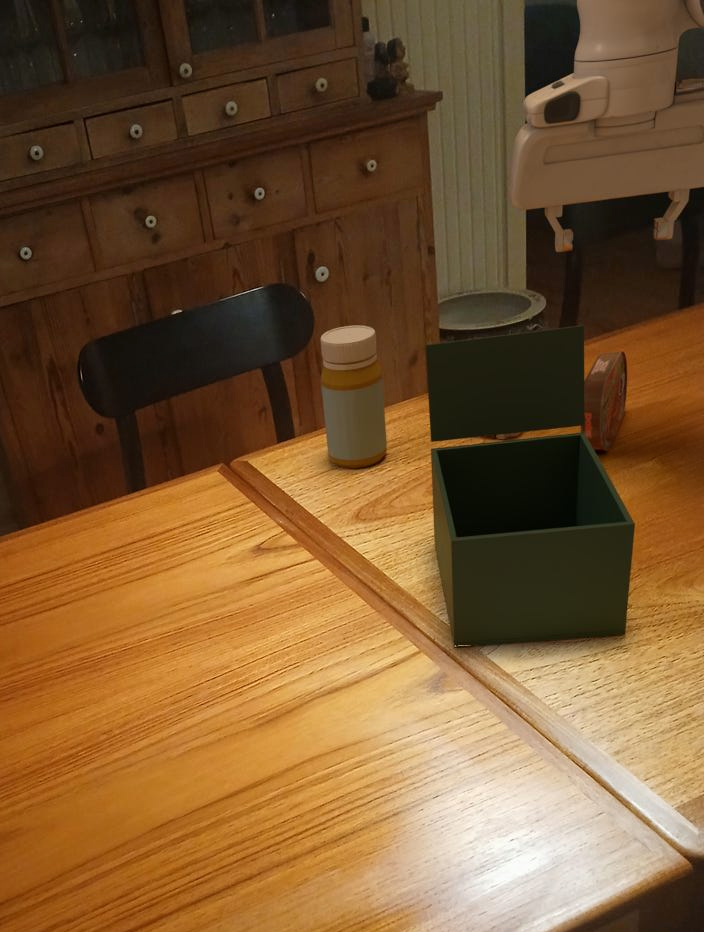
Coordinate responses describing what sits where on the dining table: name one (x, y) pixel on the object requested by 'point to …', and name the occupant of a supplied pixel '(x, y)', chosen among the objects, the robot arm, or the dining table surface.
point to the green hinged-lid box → (530, 541)
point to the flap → (506, 384)
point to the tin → (605, 399)
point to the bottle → (353, 397)
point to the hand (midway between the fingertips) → (612, 244)
